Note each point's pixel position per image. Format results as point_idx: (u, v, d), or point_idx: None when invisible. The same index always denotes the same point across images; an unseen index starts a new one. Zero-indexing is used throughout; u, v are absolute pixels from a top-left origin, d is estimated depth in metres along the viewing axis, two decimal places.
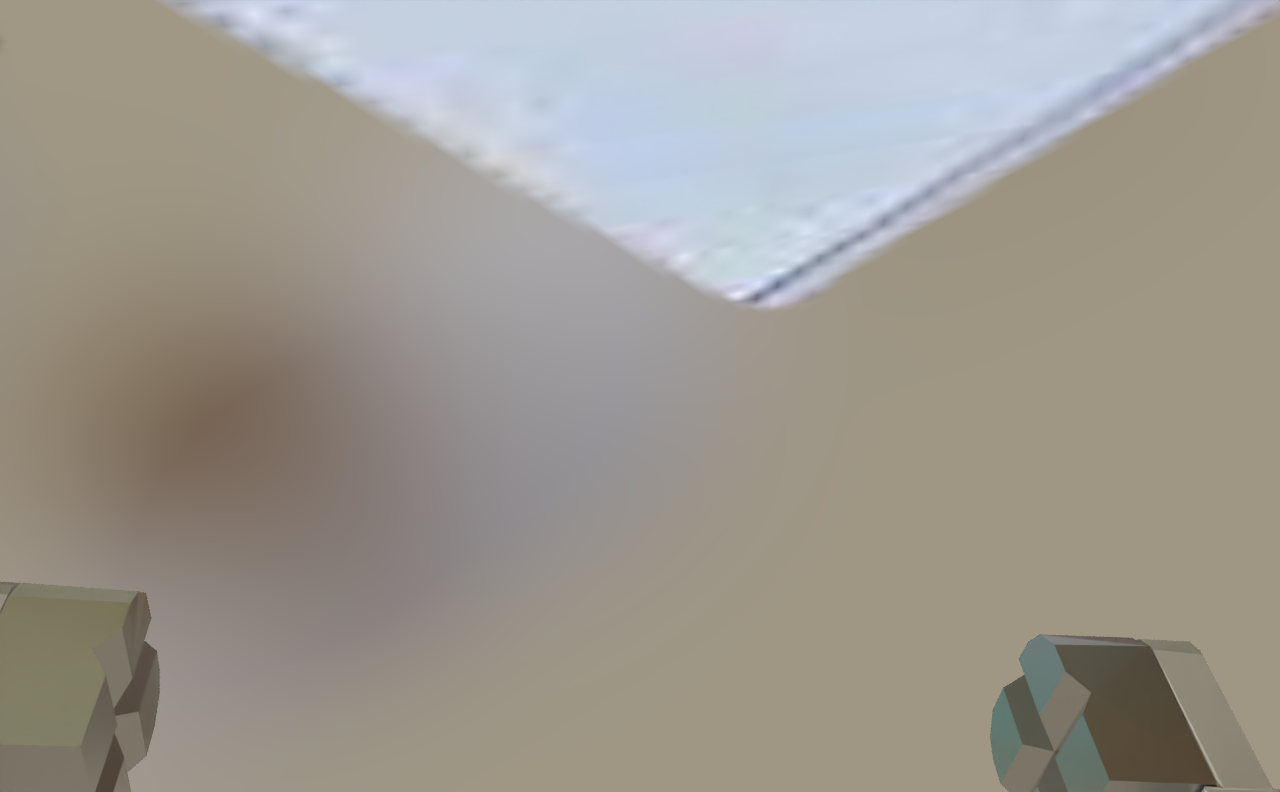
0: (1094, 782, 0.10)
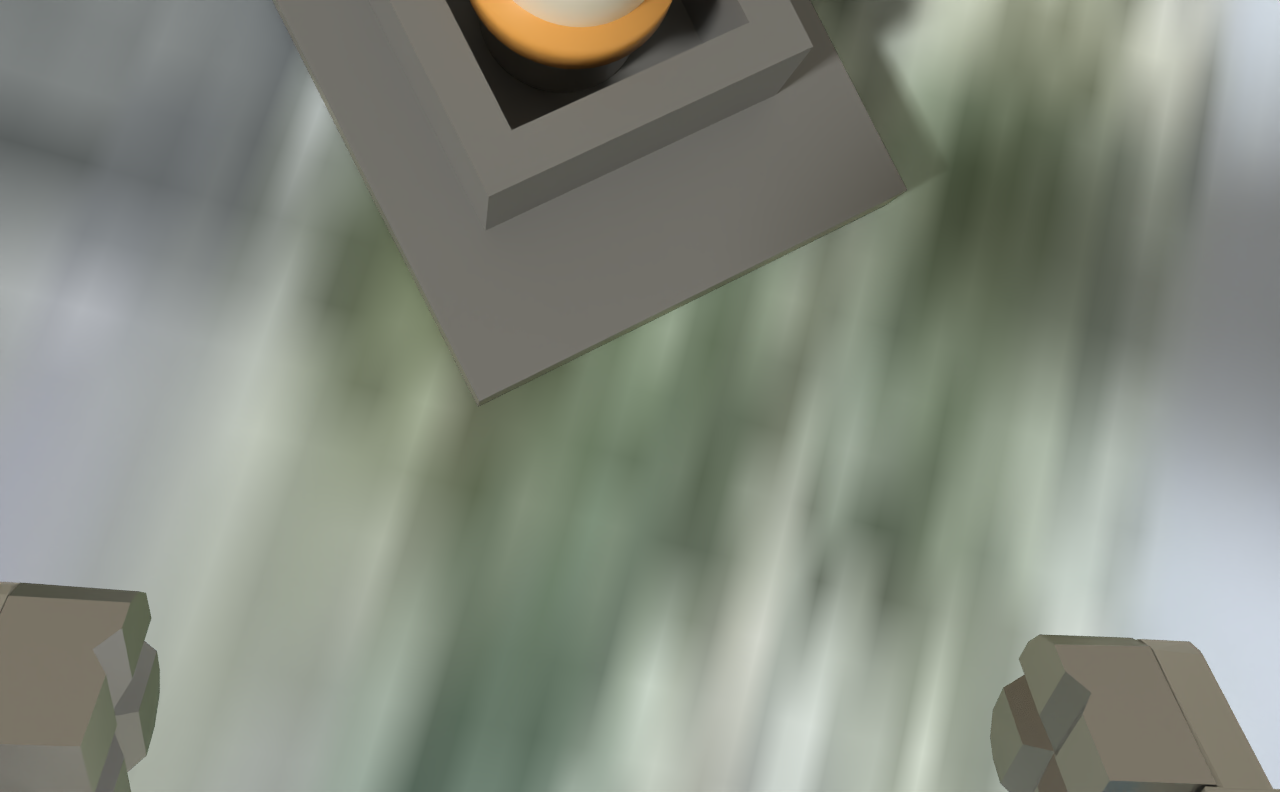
0: (1094, 782, 0.10)
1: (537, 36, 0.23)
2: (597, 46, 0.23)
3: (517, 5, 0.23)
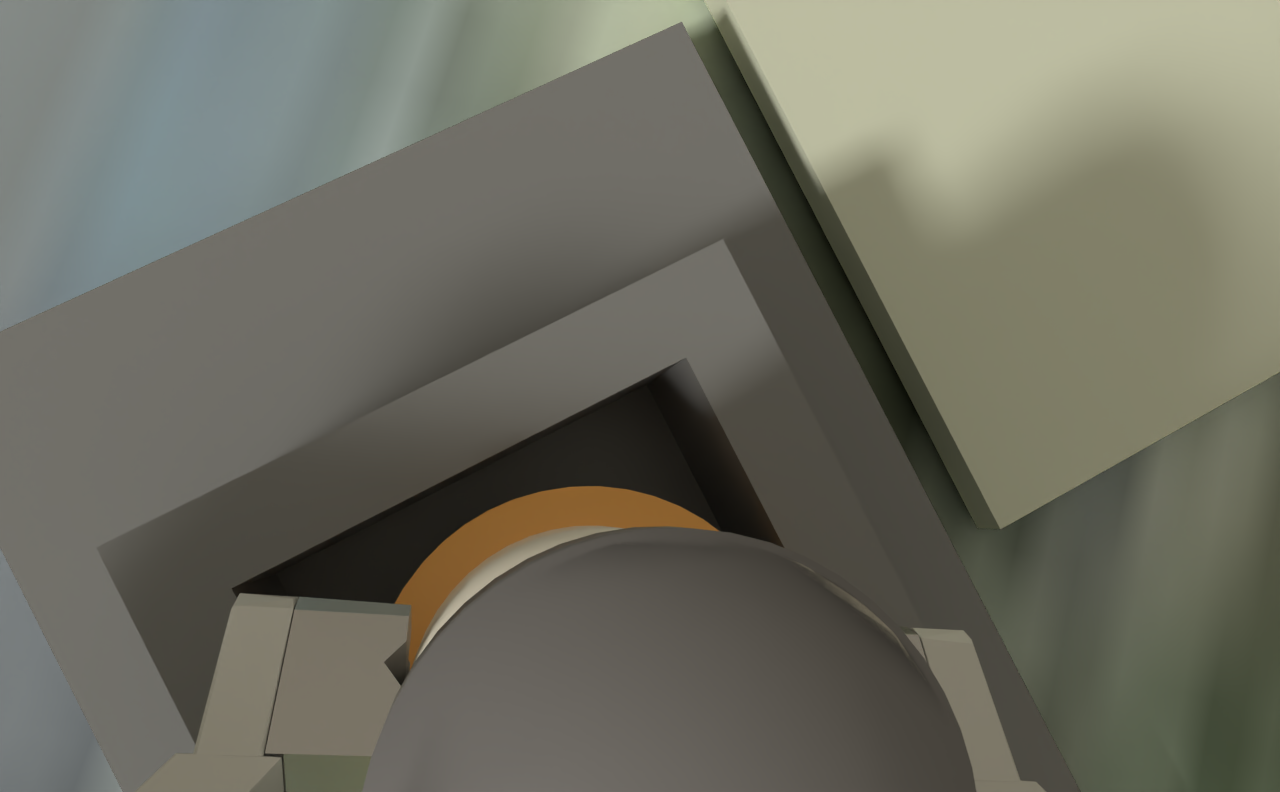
0: None
1: None
2: None
3: None
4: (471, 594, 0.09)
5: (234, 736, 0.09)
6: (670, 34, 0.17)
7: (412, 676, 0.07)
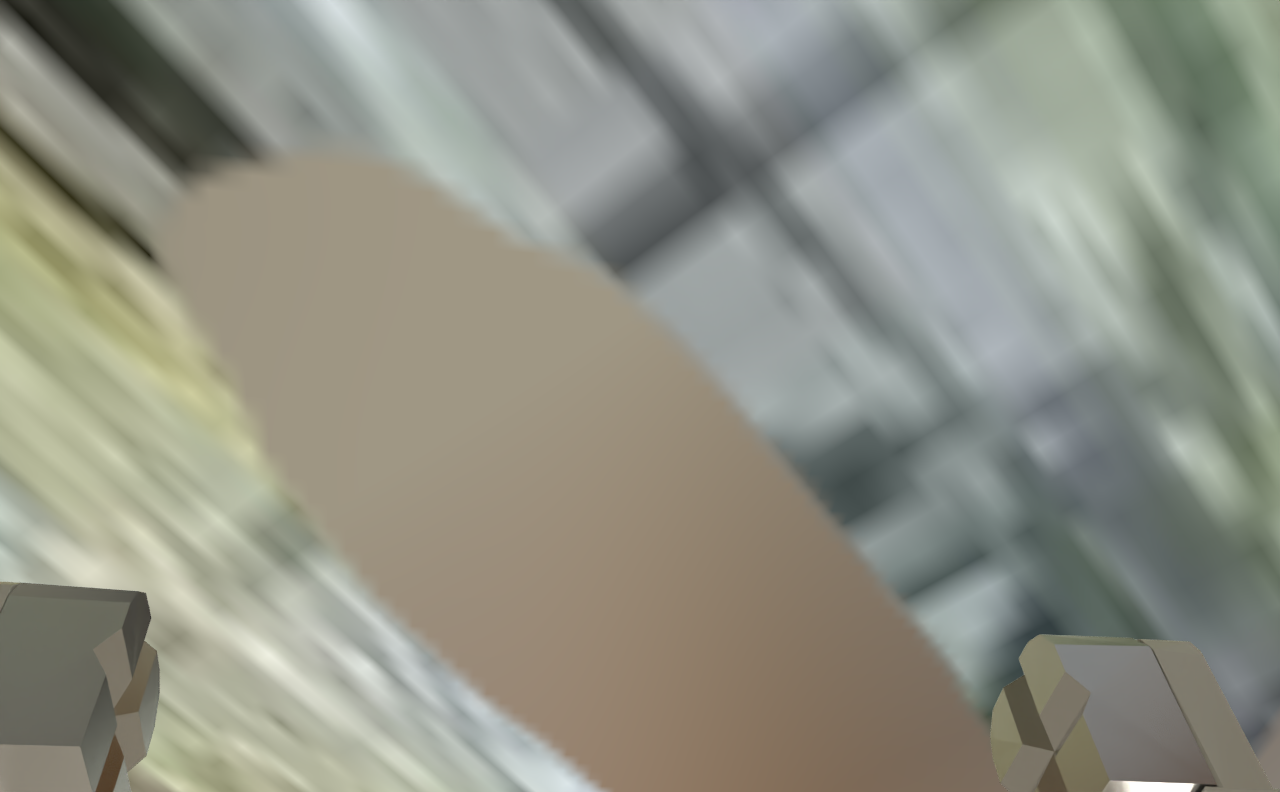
0: (1094, 782, 0.10)
1: None
2: None
3: None
4: None
5: None
6: None
7: None
